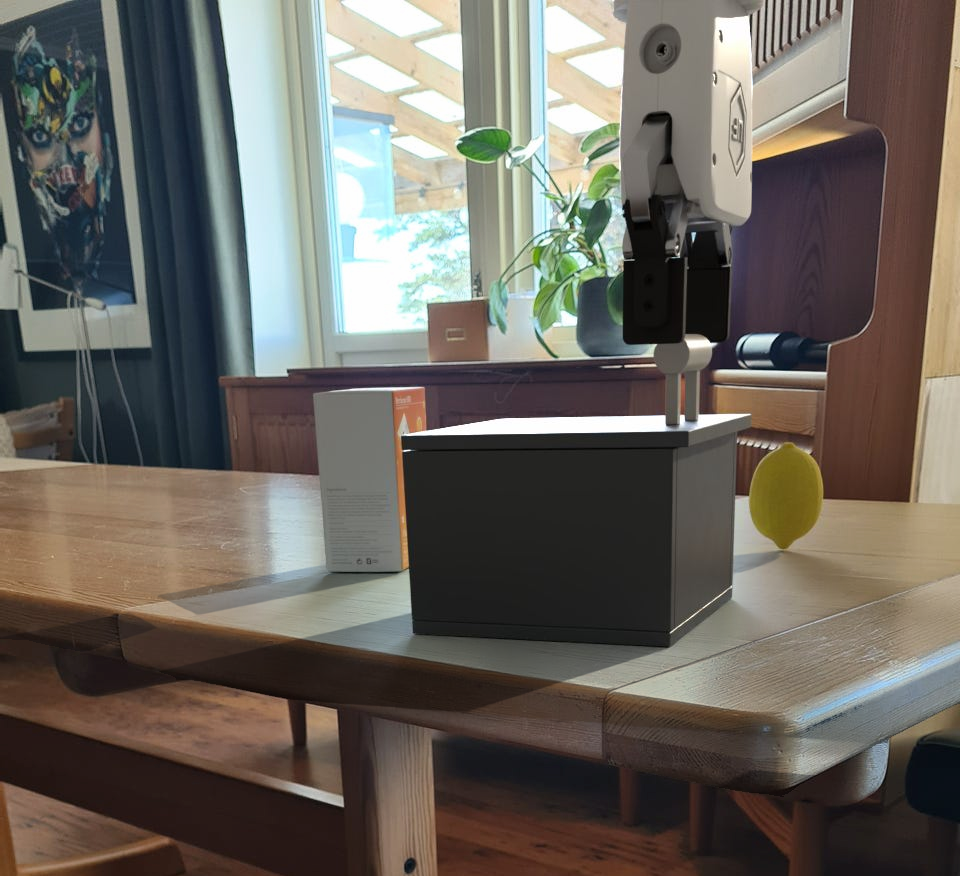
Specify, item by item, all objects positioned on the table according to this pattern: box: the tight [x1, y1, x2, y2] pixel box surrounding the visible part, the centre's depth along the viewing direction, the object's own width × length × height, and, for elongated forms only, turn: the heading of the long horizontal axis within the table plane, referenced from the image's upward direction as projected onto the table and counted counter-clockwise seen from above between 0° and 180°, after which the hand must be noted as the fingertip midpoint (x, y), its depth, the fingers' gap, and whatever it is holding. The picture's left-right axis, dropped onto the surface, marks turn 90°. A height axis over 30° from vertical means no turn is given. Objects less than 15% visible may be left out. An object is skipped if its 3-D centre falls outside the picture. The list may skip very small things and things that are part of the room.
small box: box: [312, 386, 427, 573], centre depth 98 cm, size 8×6×13 cm
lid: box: [401, 334, 752, 450], centre depth 74 cm, size 16×15×5 cm
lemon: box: [748, 441, 824, 551], centre depth 98 cm, size 6×6×8 cm
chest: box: [402, 432, 738, 648], centre depth 77 cm, size 16×15×10 cm
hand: (678, 343), depth 71 cm, fingers open, 9 cm apart
